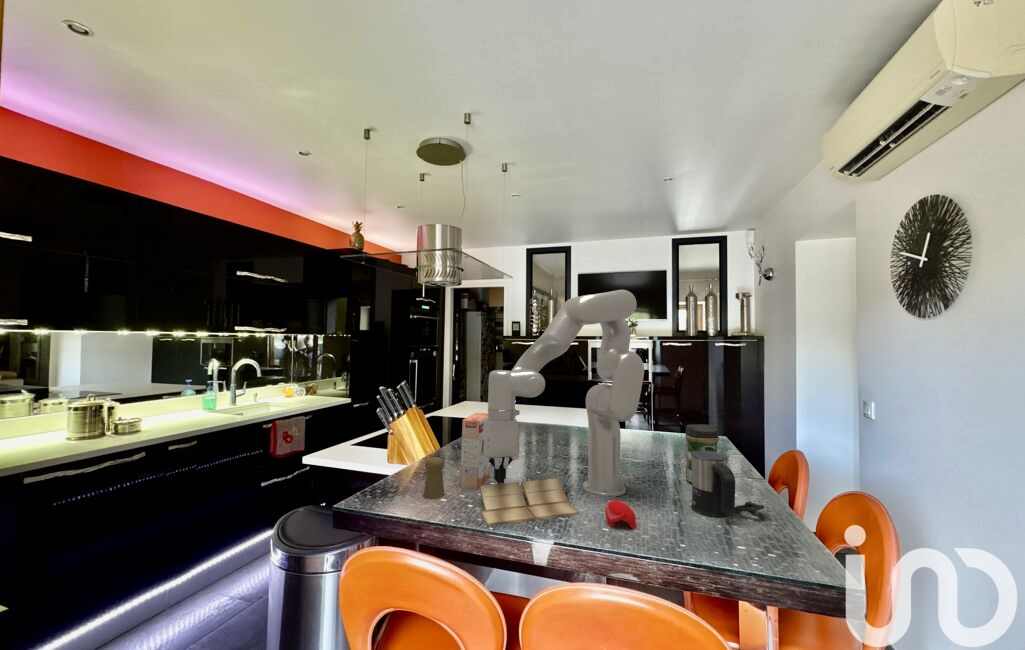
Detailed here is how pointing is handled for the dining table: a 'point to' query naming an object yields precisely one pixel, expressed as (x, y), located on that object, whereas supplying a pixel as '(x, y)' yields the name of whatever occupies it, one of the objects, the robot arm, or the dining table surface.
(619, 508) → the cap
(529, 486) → the plank
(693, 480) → the milk frother
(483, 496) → the plank
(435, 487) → the cork
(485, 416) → the cracker box
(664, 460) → the dining table surface
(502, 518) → the laid board
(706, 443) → the coffee jar
